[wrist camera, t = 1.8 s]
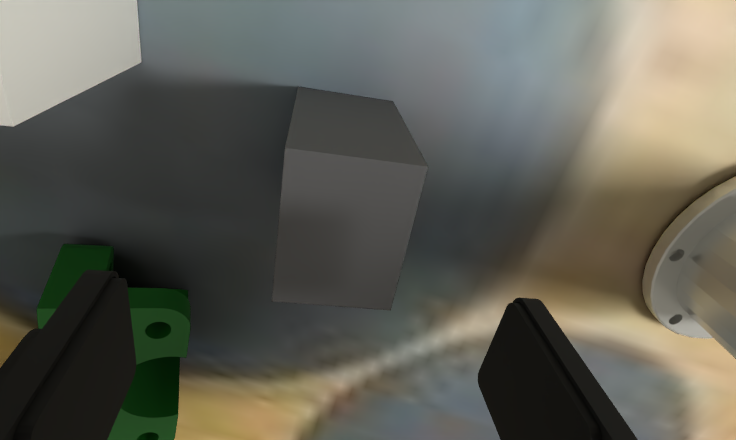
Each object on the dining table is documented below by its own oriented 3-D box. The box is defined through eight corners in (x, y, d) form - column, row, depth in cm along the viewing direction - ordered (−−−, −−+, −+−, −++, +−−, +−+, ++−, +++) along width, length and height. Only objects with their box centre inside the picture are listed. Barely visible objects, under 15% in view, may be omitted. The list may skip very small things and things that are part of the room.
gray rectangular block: (392, 101, 21) (428, 166, 14) (370, 210, 24) (390, 310, 17) (298, 86, 20) (284, 147, 13) (287, 201, 23) (271, 301, 16)
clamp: (179, 316, 31) (171, 455, 27) (82, 317, 29) (53, 471, 24) (196, 225, 23) (189, 407, 18) (60, 215, 20) (7, 424, 15)
